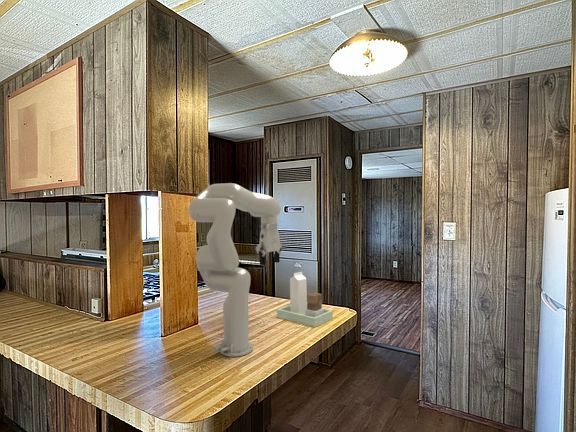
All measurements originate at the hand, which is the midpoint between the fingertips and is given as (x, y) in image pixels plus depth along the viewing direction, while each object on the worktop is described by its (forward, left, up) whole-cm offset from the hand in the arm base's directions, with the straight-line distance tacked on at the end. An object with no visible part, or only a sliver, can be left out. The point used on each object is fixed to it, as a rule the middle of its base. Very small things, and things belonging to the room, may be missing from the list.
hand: (269, 263), depth 156 cm
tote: (+16, -8, -28) cm, 33 cm away
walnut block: (+15, -14, -22) cm, 31 cm away
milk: (+17, -3, -28) cm, 33 cm away
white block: (+16, -14, -28) cm, 35 cm away
